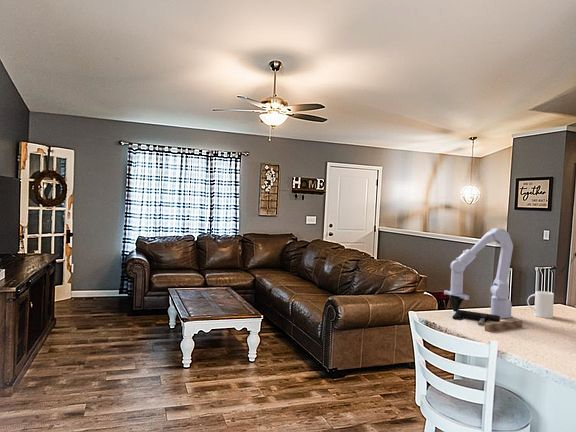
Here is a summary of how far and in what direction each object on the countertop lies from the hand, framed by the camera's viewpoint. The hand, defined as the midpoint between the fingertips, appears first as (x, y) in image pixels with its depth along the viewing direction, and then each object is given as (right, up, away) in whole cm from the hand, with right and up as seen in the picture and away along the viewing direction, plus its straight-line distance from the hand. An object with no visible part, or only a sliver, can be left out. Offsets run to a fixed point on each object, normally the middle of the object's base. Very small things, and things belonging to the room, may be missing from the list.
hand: (455, 311), depth 223 cm
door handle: (+5, -3, -12) cm, 13 cm away
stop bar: (+12, -2, -25) cm, 28 cm away
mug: (+44, -3, +2) cm, 44 cm away
